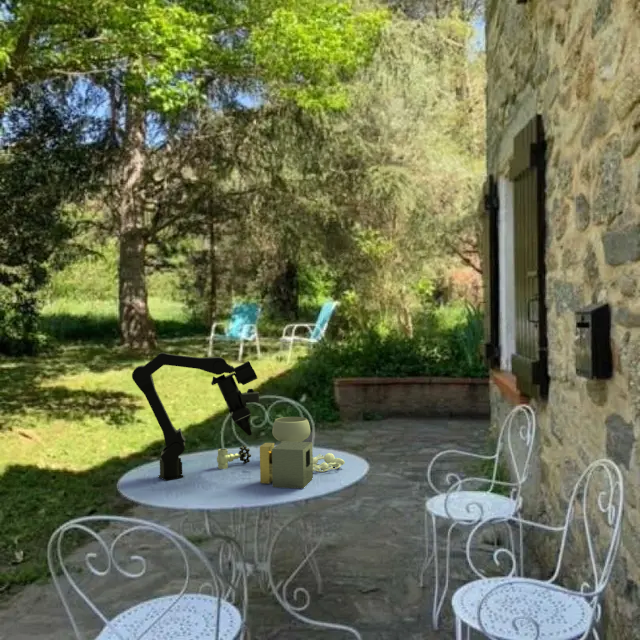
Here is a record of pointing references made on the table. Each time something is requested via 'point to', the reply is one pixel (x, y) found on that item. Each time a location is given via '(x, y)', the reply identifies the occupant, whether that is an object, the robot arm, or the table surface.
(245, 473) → the table surface
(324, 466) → the tangled rod sculpture
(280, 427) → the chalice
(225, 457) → the valve
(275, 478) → the housing
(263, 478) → the end cover
